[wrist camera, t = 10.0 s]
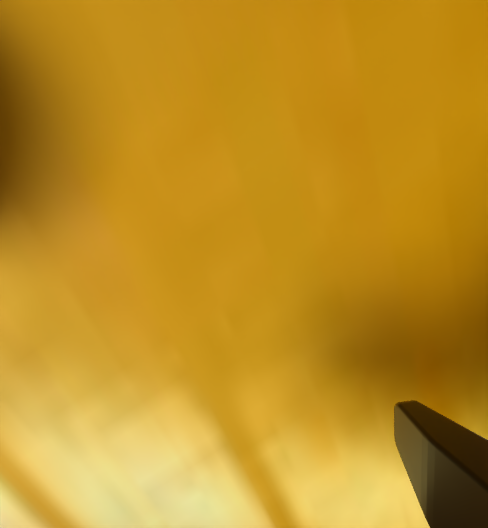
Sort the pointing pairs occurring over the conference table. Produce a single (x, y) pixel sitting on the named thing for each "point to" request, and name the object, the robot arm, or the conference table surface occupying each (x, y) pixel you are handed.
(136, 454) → the conference table surface
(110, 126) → the conference table surface
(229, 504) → the conference table surface
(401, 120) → the conference table surface
